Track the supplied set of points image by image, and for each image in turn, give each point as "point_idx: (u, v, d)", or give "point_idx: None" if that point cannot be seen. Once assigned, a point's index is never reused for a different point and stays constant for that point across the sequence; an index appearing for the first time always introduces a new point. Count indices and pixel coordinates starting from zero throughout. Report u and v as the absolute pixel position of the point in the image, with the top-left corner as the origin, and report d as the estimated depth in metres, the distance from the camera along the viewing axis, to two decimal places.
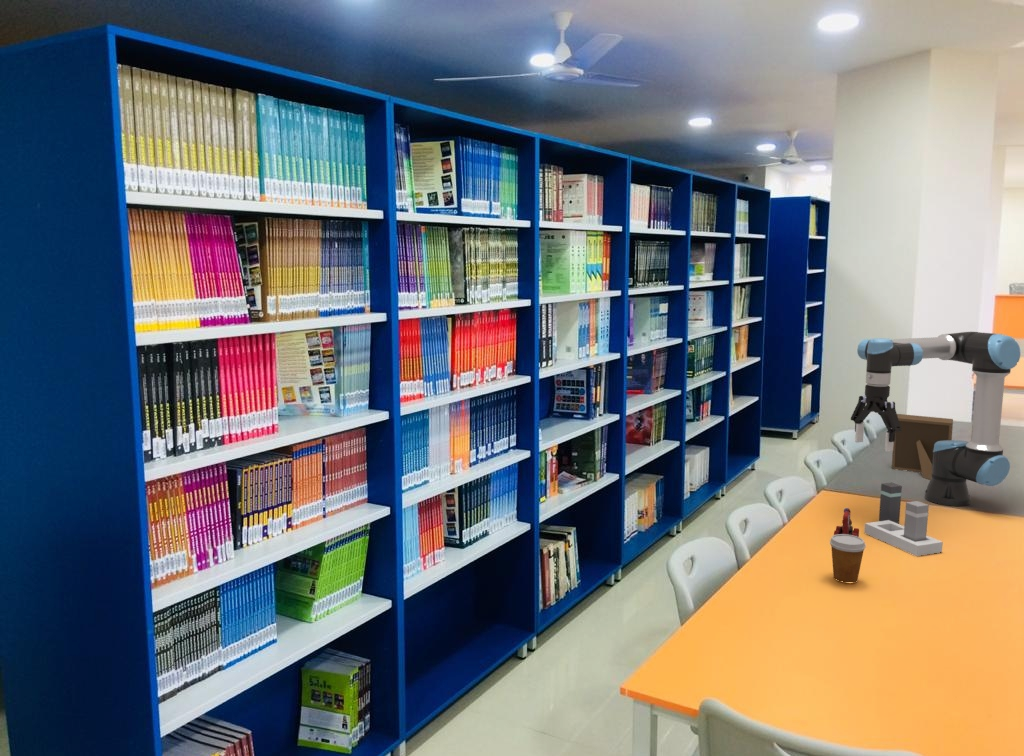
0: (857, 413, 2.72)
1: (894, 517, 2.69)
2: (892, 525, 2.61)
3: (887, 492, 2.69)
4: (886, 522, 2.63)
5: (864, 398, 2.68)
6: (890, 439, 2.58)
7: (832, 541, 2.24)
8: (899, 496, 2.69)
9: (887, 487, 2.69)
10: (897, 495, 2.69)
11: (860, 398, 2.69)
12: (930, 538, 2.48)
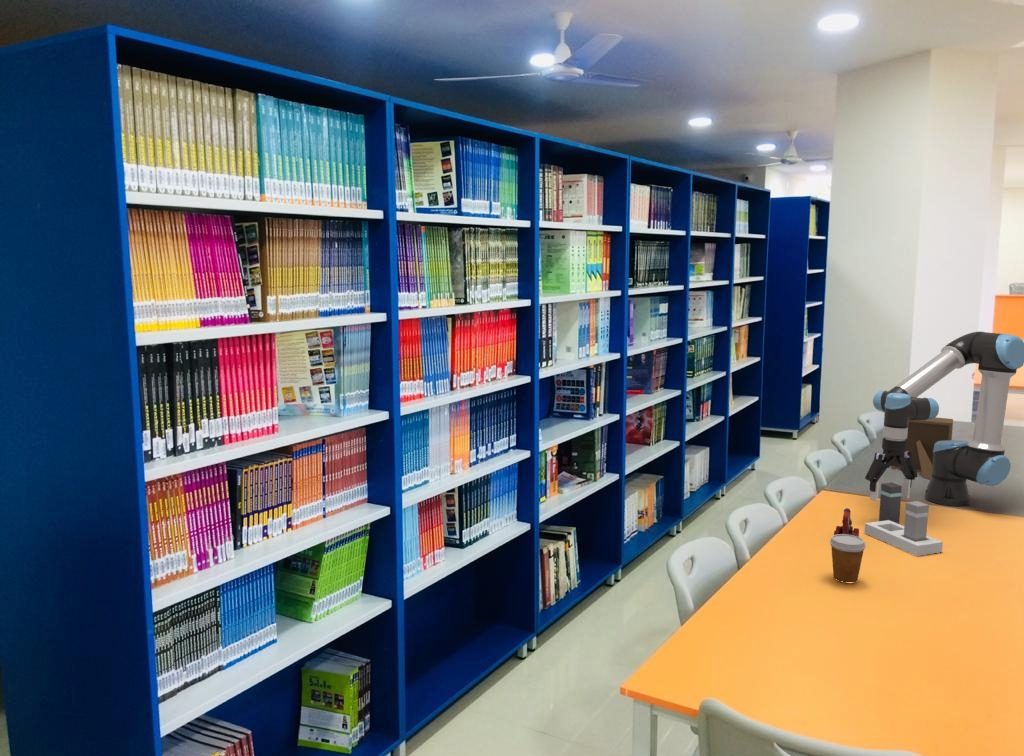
0: (908, 468, 2.72)
1: (894, 517, 2.69)
2: (892, 525, 2.61)
3: (887, 492, 2.69)
4: (886, 522, 2.63)
5: None
6: None
7: (832, 541, 2.24)
8: (899, 496, 2.69)
9: (887, 487, 2.69)
10: (897, 495, 2.69)
11: None
12: (930, 538, 2.48)
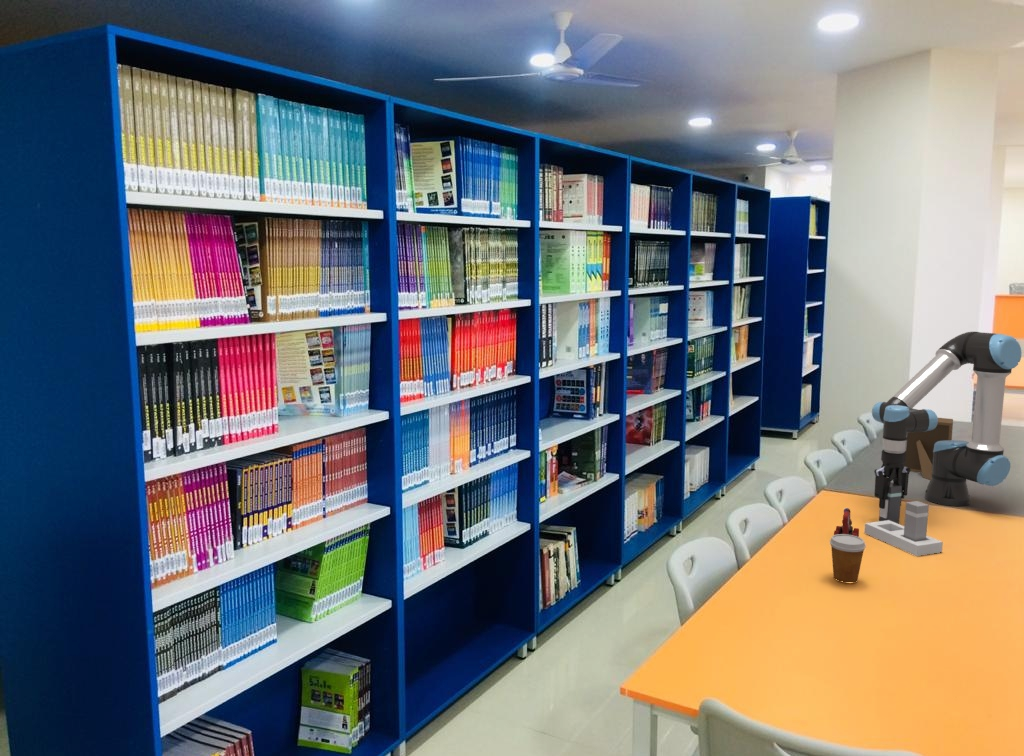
0: (901, 485, 2.72)
1: (894, 517, 2.69)
2: (892, 525, 2.61)
3: None
4: (886, 522, 2.63)
5: None
6: None
7: (832, 541, 2.24)
8: (899, 496, 2.69)
9: None
10: (897, 495, 2.69)
11: None
12: (930, 538, 2.48)
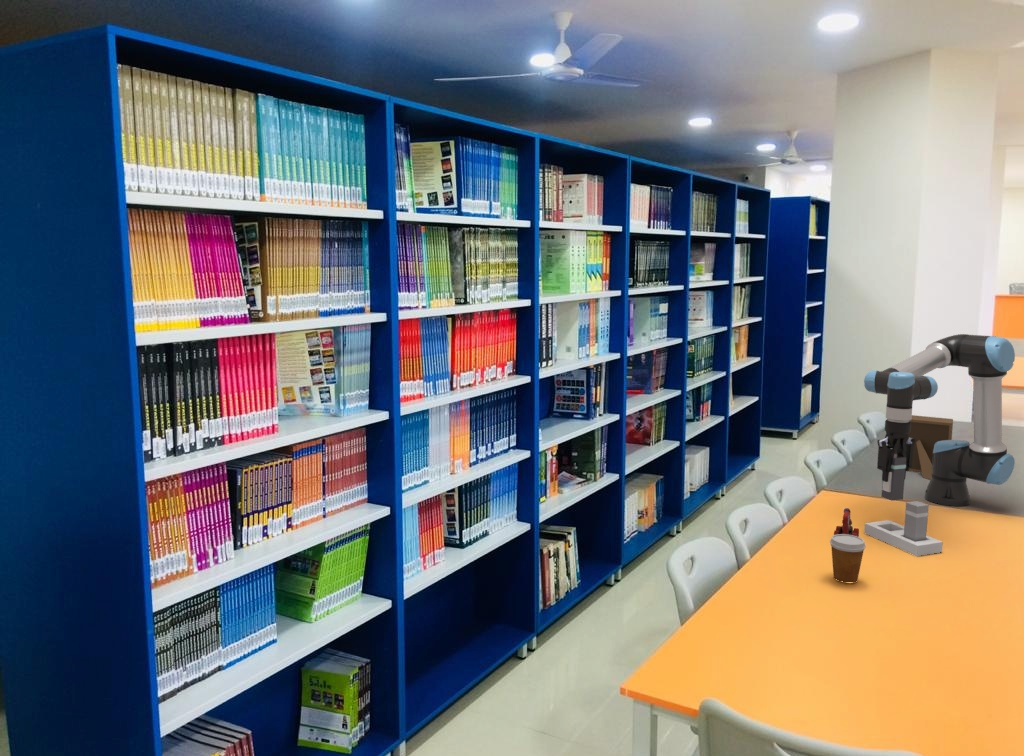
0: None
1: (897, 490, 2.54)
2: (892, 525, 2.61)
3: None
4: (886, 522, 2.63)
5: None
6: None
7: (832, 541, 2.24)
8: (903, 468, 2.53)
9: None
10: (901, 467, 2.53)
11: None
12: (930, 538, 2.48)
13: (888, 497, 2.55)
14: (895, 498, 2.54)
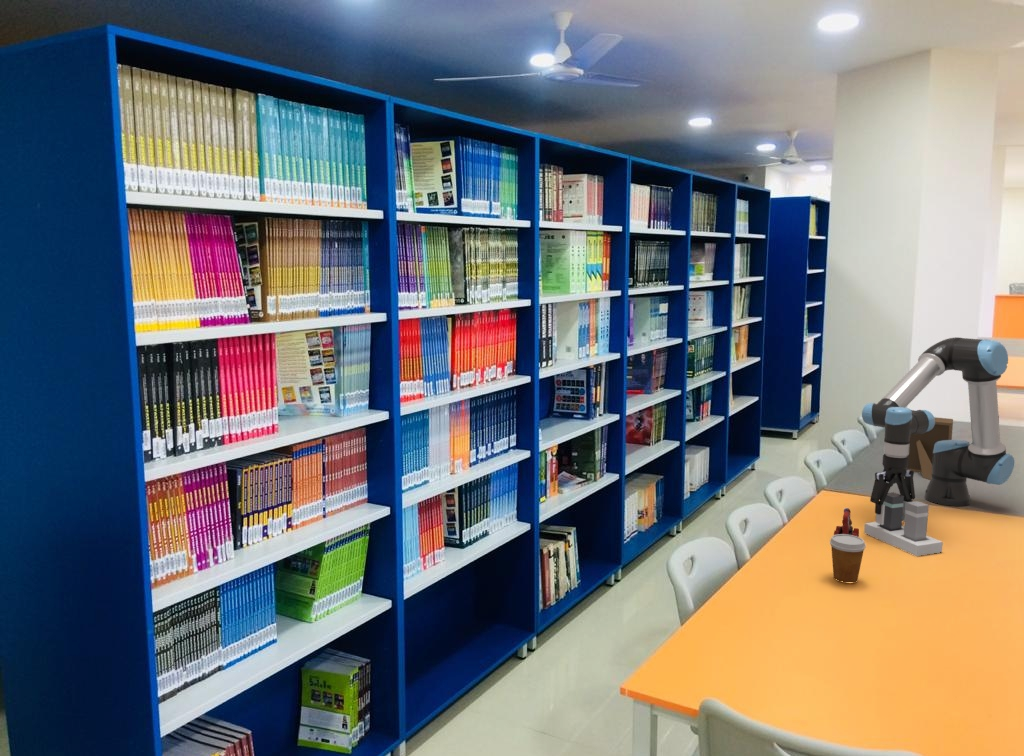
0: (907, 489, 2.59)
1: (895, 528, 2.56)
2: None
3: (888, 502, 2.55)
4: None
5: None
6: None
7: (832, 541, 2.24)
8: (901, 507, 2.55)
9: (888, 497, 2.55)
10: (899, 506, 2.55)
11: None
12: (930, 538, 2.48)
13: None
14: None
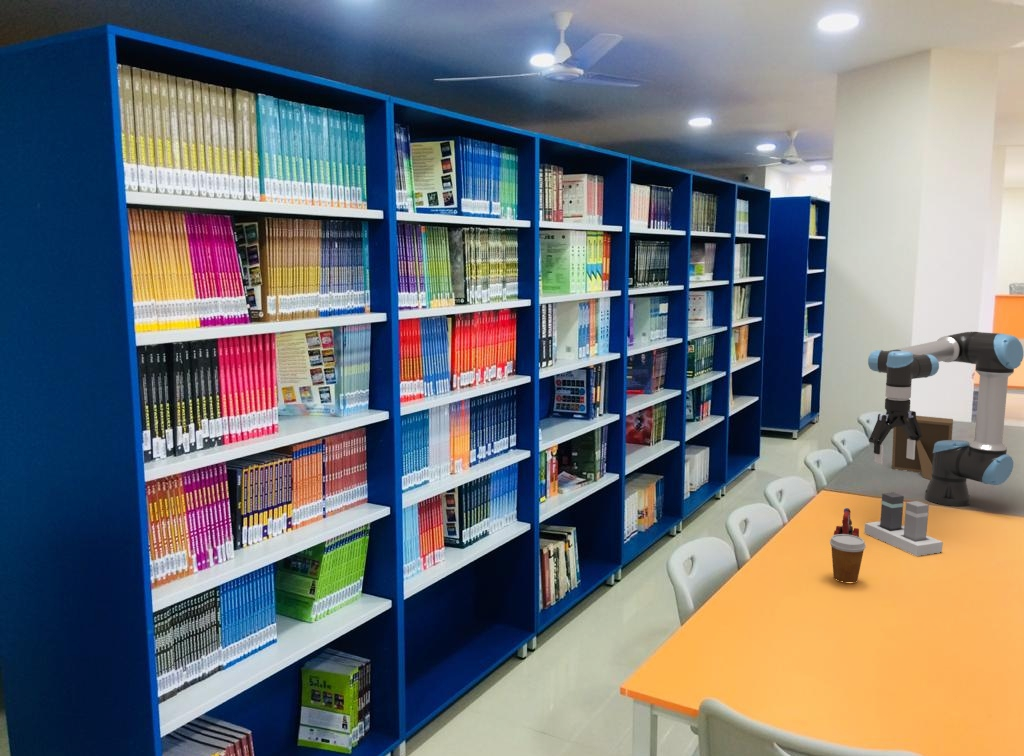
0: (912, 429, 2.63)
1: (895, 528, 2.56)
2: None
3: (888, 502, 2.55)
4: None
5: None
6: None
7: (832, 541, 2.24)
8: (901, 507, 2.55)
9: (888, 497, 2.55)
10: (899, 506, 2.55)
11: None
12: (930, 538, 2.48)
13: None
14: None
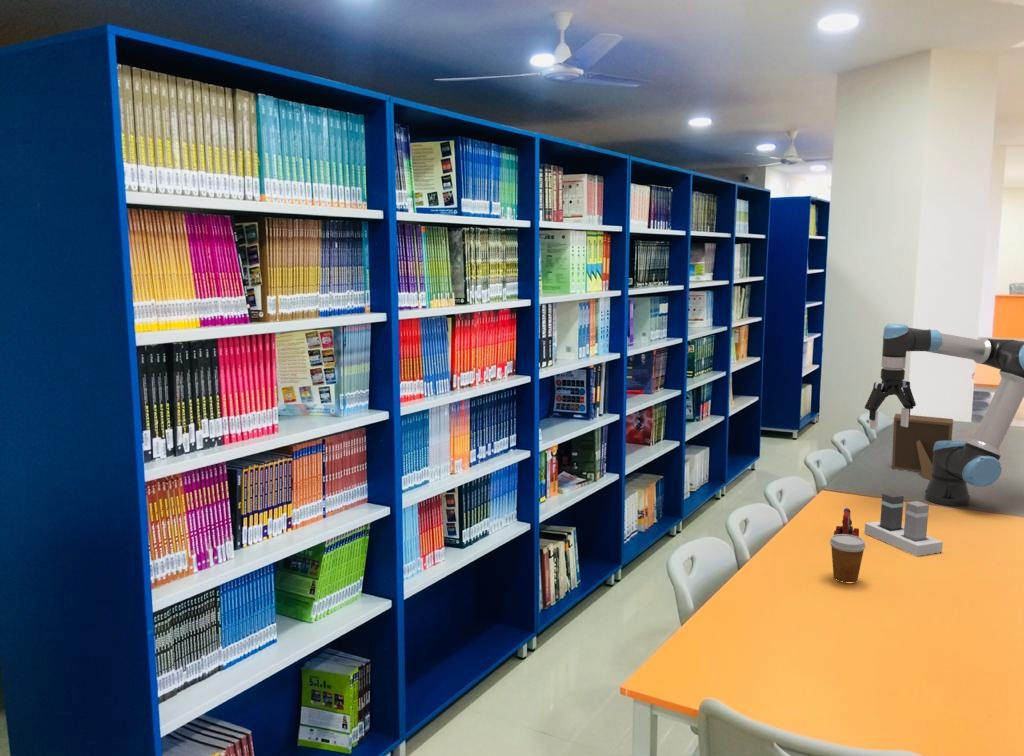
0: (907, 398, 2.79)
1: (895, 528, 2.56)
2: None
3: (888, 502, 2.55)
4: None
5: None
6: None
7: (832, 541, 2.24)
8: (901, 507, 2.55)
9: (888, 497, 2.55)
10: (899, 506, 2.55)
11: None
12: (930, 538, 2.48)
13: None
14: None
